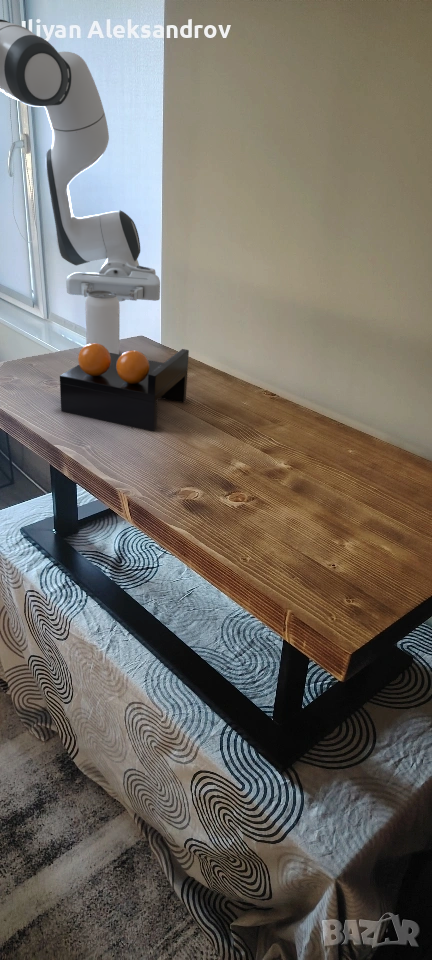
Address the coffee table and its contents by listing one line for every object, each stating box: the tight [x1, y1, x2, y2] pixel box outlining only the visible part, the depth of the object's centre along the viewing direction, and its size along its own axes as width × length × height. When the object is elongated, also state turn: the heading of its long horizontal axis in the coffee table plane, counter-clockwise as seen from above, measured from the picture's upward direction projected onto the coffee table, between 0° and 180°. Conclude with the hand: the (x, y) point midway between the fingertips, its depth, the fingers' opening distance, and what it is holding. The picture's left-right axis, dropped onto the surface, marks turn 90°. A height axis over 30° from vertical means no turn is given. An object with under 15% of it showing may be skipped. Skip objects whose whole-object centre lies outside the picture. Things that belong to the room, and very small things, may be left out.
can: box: [84, 290, 121, 354], centre depth 122 cm, size 6×6×12 cm
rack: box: [59, 343, 190, 432], centre depth 101 cm, size 16×14×11 cm
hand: (110, 295), depth 130 cm, fingers open, 8 cm apart
